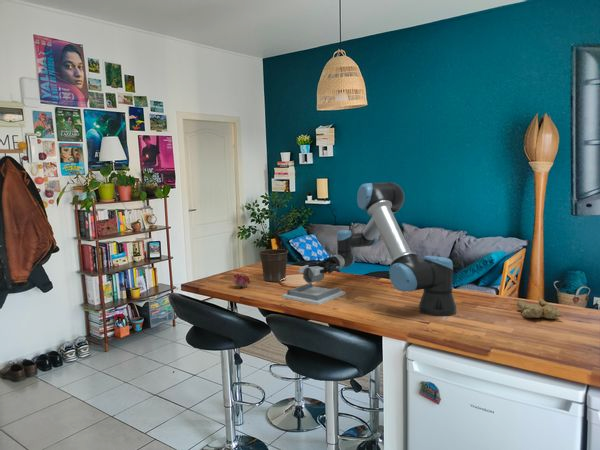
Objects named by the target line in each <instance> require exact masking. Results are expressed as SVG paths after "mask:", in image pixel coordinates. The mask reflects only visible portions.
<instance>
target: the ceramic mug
mask: <svg viewBox="0 0 600 450" xmlns="http://www.w3.org/2000/svg"><path fill="white" fill-rule="evenodd" d="M319 268H322V267H319V266H314V267H306V268H305V269H304V272H303V273H302V278H303V280H304V281H305V282H306V284H308V283H312V284H313V283H317V282H321V281H323V279H325V273H322V274H319V275H316V276H314V270H316V269H319Z"/></svg>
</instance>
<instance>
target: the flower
mask: <svg viewBox="0 0 600 450" xmlns="http://www.w3.org/2000/svg"><path fill="white" fill-rule="evenodd" d="M233 276H234V281H233V283H234V284H235V286H238V290H240V289H241V288H248V287H247V286H248V285H250V282H251V281H250V277H249V276H248V275H246V274H245V273H236V274H233Z"/></svg>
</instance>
